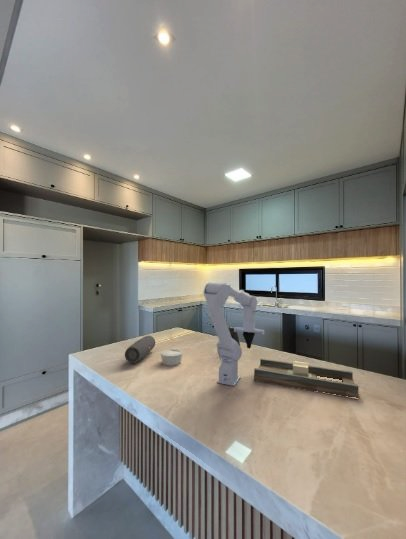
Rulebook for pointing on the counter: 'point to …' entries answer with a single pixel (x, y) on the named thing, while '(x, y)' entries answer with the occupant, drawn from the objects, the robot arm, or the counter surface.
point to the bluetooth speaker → (140, 349)
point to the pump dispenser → (234, 335)
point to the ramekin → (171, 357)
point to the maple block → (300, 368)
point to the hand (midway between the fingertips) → (249, 347)
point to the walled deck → (307, 378)
